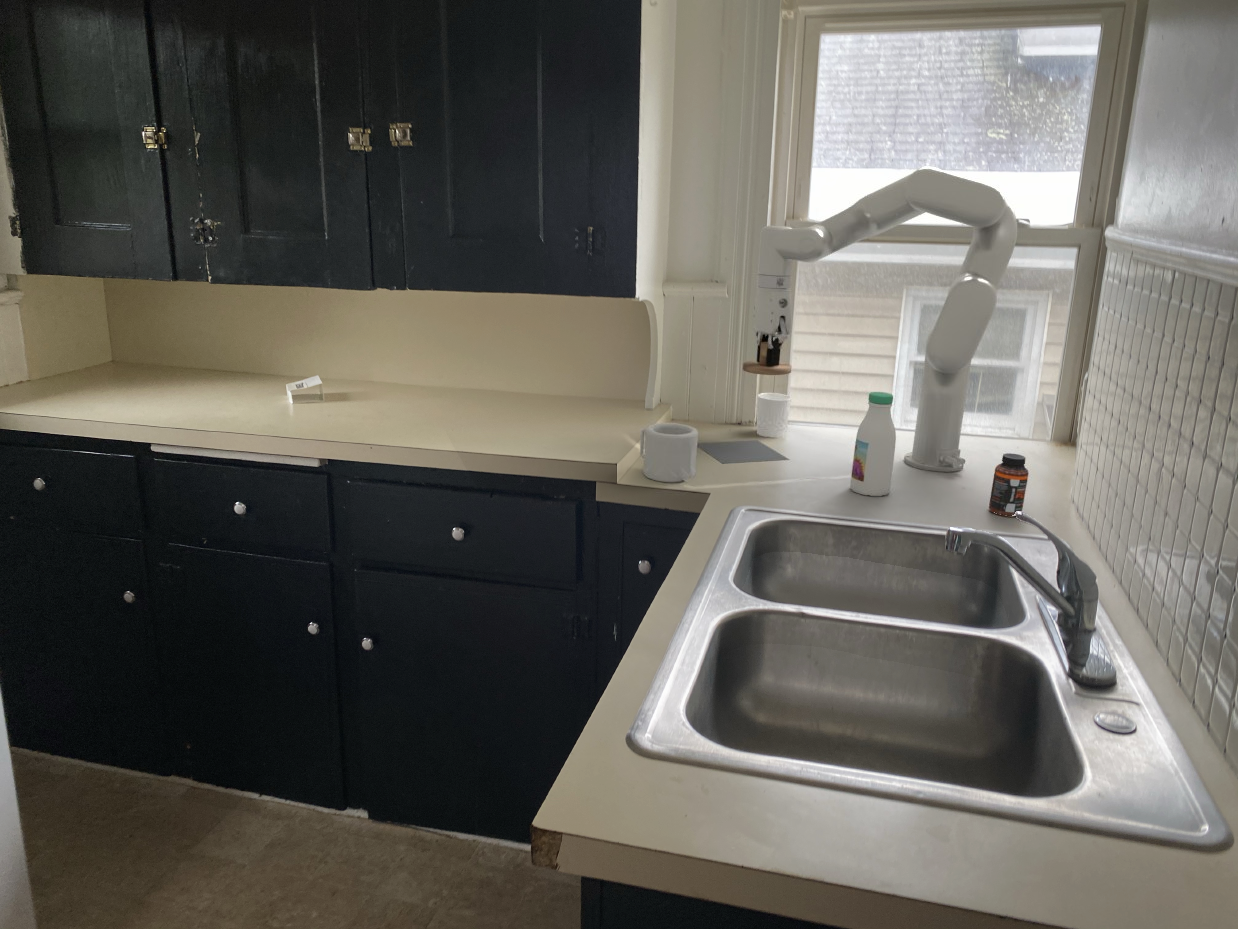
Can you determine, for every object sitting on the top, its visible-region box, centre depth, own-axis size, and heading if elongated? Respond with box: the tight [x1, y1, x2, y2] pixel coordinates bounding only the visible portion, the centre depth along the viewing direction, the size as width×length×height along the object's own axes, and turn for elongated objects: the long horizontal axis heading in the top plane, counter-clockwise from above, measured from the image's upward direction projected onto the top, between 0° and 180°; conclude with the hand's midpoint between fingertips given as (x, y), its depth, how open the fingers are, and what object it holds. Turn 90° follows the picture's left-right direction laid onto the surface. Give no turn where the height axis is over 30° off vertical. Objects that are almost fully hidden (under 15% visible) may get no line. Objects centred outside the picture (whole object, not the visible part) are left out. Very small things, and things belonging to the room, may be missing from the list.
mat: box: [697, 439, 791, 465], centre depth 214 cm, size 16×16×1 cm
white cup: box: [756, 392, 792, 439], centre depth 229 cm, size 8×8×10 cm
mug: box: [639, 422, 699, 484], centre depth 197 cm, size 14×11×10 cm
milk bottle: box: [850, 391, 897, 497], centre depth 190 cm, size 8×8×20 cm
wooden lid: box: [742, 342, 793, 376], centre depth 219 cm, size 11×11×6 cm
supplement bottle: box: [988, 452, 1029, 518], centre depth 181 cm, size 6×6×11 cm
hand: (767, 363), depth 219 cm, fingers closed on wooden lid, 3 cm apart
